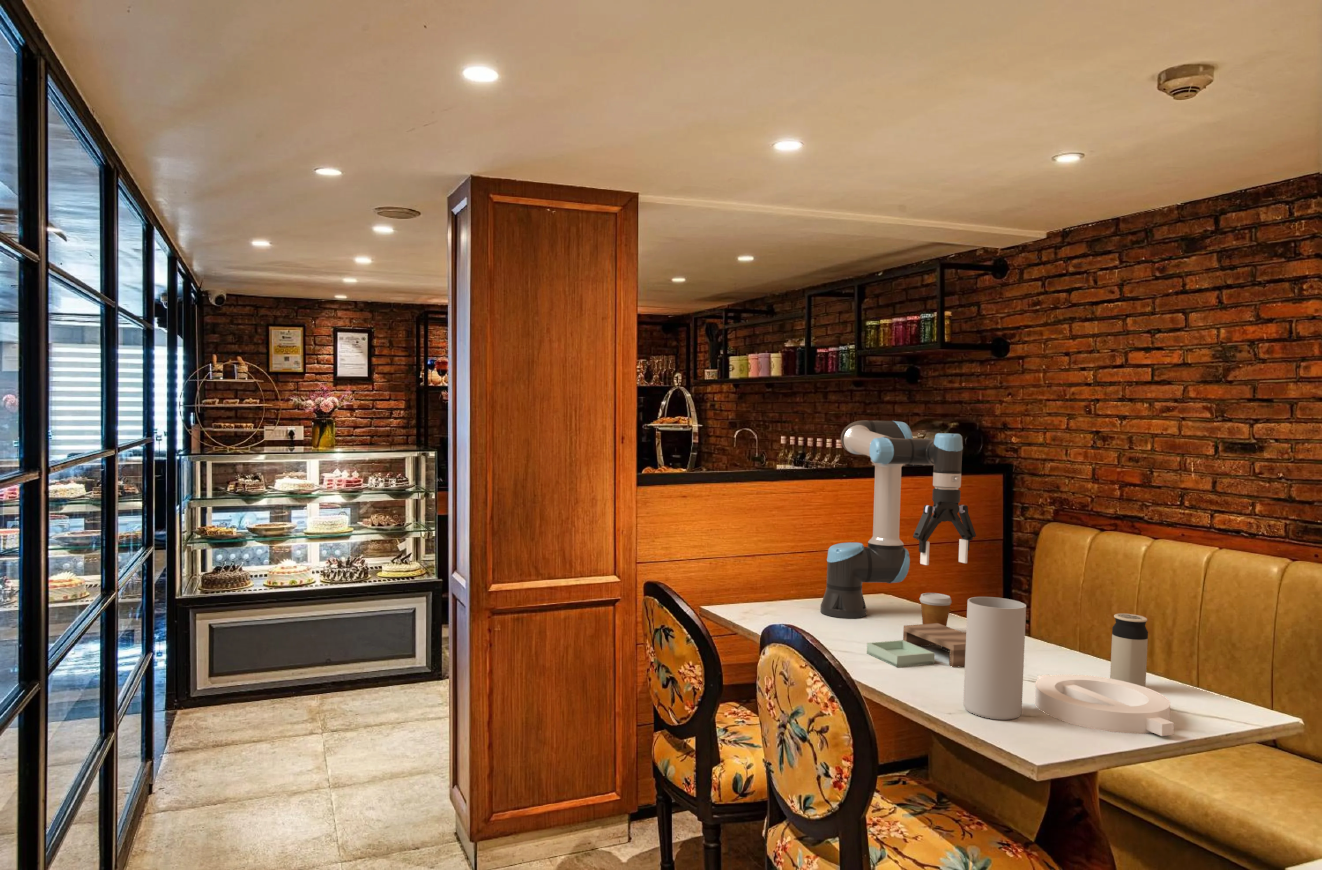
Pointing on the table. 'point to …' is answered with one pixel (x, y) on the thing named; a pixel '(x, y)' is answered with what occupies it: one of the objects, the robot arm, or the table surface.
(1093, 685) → the ring with crossbar
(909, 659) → the green tray
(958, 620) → the table surface
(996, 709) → the cylinder vase
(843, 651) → the table surface
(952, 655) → the walnut overhang
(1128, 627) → the travel mug
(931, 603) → the disposable coffee cup
